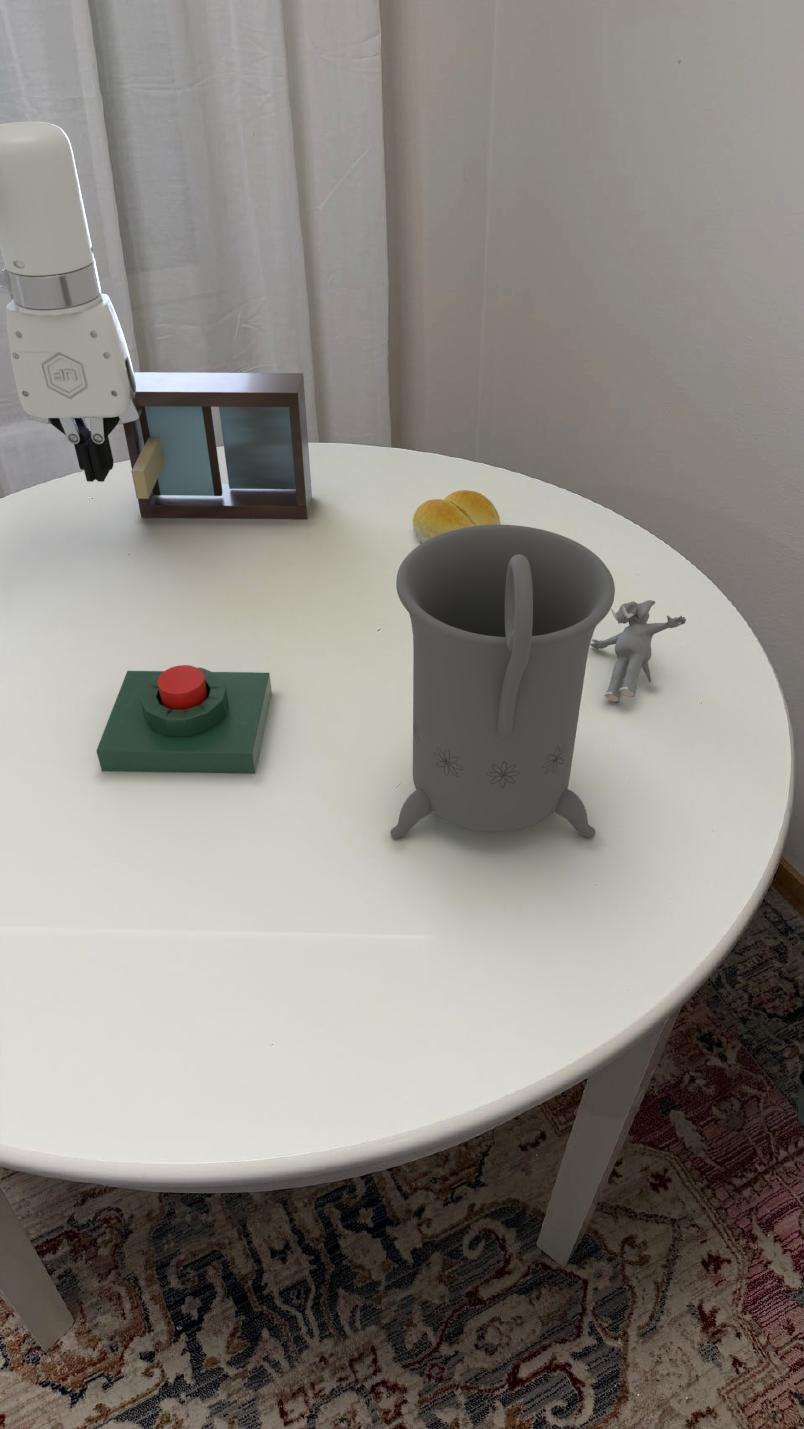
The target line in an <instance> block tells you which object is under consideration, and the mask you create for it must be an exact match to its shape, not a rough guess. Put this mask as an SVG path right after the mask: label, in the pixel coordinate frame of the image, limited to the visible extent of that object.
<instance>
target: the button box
mask: <svg viewBox="0 0 804 1429" xmlns="http://www.w3.org/2000/svg"><path fill="white" fill-rule="evenodd" d="M198 668H199V669H200V670H201V671H202V672H203V674H204V678H205V684H206V690H207V696H206V699H205V700H204V701H203V702H202V703H201V704H200V705H198V706H195V707H192V708H189V709H186V710H172V709H169V708H167V707H166V706H164V705H163V703H162V701H161V697H160V692H159V688H158V678H159V676H160V675H161V674H162V673H163V672H164V671H165V670H127V671H126V673H125V676H124V678H123V681H122V683H121V686H120V688H119V691H118V694H117V697H116V698H115V702H114V704H113V706H112V709H111V712H110V714H109V717H108V720H107V722H106V725H105V727H104V730H103V732H102V735H101V738H100V741H99V742H98V745H97V748H96V752H95V753H96V755H97V759H98V762H99V765H100V769H101V772H119V773H120V772H122V773H124V772H127V773H128V772H129V773H182V774H183V773H185V774H186V773H187V774H189V773H190V774H191V773H192V774H238V775H239V774H241V775H242V774H245V775H247V774H248V775H249V774H250V775H254V774H256V773H257V772H256V771H257V768H258V762H259V757H260V753H261V748H262V742H263V738H264V733H265V729H266V728H265V727H266V724H267V719H268V713H269V708H270V703H271V698H272V693H273V691H272V682H271V674H270V672H257V671H256V672H251V671H250V672H248V671H247V672H246V671H245V672H244V671H211V670H209V669H206V668H203V667H198Z"/></svg>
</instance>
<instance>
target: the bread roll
mask: <svg viewBox="0 0 804 1429" xmlns="http://www.w3.org/2000/svg"><path fill="white" fill-rule="evenodd" d="M479 525H502V524H501V518H500V516H499V512H498V509H497V508H496V507H495V505H494V503H492V501H491V500H490V499H489V498H488V497H487V496H485V495H483V494H481V493H480V492H478V491H474V490H468V489H466V490H465V489H464V490H463V489H462V490H456V491H453V492H451V493H450V494H448V495H447V496H446V497H445V498H444V499H438V498H437V499H436V498H435V499H434V498H433V499H429V500H427V501H424V502H423V503H422V504H420V505H419V506H418V507H417V509H416V510H415V512H414V514H413V518H412V529H413V532H414V535H415V537H416V538H417V540H419V541H420V542H421V543H423V542H425V541H427V540H428V539H430V538H432V537H435V536H437V535H440V534H442V533H445V532H448V531H452V530H456V529H460V528H465V527H471V526H479Z"/></svg>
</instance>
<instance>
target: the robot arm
mask: <svg viewBox="0 0 804 1429" xmlns="http://www.w3.org/2000/svg"><path fill="white" fill-rule="evenodd" d="M79 180H80V179H79V176H78V171H77V166H76V162H75V156H74V151H73V148H72V144H71V140H70V139H69V137H68V135H67V134H66V132H65V131H64V129H62V128H61V127H59V126H58V125H57V124H53V123H51V122H47V121H37V120H35V121H33V120H32V121H31V120H27V121H22V120H21V121H12V122H5V123H0V252H1V256H2V260H3V264H4V268H3V269H2V270H1V271H0V289H4V290H7V291H8V292H9V296H10V299H11V300H12V301H10V302H9V303H7V304H6V306H5V318H6V332H7V339H8V347H9V354H10V361H11V366H12V372H13V377H14V381H15V387H16V391H17V395H18V400H19V402H20V406H21V408H22V409H23V411H24V412H25V413H26V414H27V417H28V419H29V420H30V421H33V422H38V423H42V424H46V425H51V426H52V427H54V428H55V429H56V430H58V431H59V432H61V433H62V434H63V435H64V436H65V437H66V439H67V441H68V443H70V444H71V445H73V446H74V449H75V455H76V458H77V463H78V466H79V470H82V471H83V472H84V475H85V480H86V482H88V483H89V482H90V483H92V482H94V481H97V482H102V483H103V482H105V481H106V478H107V477H108V474H109V473H110V471H111V470H112V469H113V468H114V464H115V462H114V457H113V452H112V448H111V442H110V438H109V435H110V434H111V433H112V432H113V431H114V429H115V428H116V427H117V426H118V425H123V424H124V423H128V422H132V421H136V420H138V418H139V416H140V415H141V412H142V411H141V408H140V405H139V403H138V401H137V399H136V397H135V394H136V382H135V377H134V372H135V371H134V368H133V364H132V361H131V356H130V352H129V349H128V345H127V342H126V339H125V335H124V332H123V329H122V327H121V324H120V321H119V318H118V316H117V313H116V310H115V308H114V305H113V303H112V301H111V299H110V296H109V295H108V294H107V293H102V290H101V285H100V280H99V274H98V270H97V265H96V264H97V263H96V259H95V256H94V250H93V245H92V240H91V236H90V235H91V234H90V231H89V225H88V220H87V216H86V210H85V205H84V200H83V196H82V191H81V185H80V181H79ZM85 419H89V420H90V421H89V424H90V429H89V428H88V425H87V422H86V420H85Z"/></svg>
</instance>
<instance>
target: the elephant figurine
mask: <svg viewBox="0 0 804 1429" xmlns="http://www.w3.org/2000/svg"><path fill="white" fill-rule="evenodd" d="M655 604H656V601H655V600H653V599H652V600H651V599H649V600H644V601H643V602H639V603H638V602H636V601H634V600H633V601H629V602H627V603H626V602H625V603H622V604H621V605H620V606H619V609H618V610H617V611H616V612H615V610H614V609H613V608H611V609H610V612H611V614H612V616H613V618H614V619H615V621H617V624H624V625H626V624H628V625H627V626H626V627H624V629H623V631H621V632H619V633H618V634H616V635H613V636H610V637H609V638H606V639H604V640H598V639H595V638H592V639H591V643H590V647H592V648H593V649H596V650H600V649H601V650H602V649H606V648H607V647H609V646H612V645H614V652H615V656H616V658H617V661H616V663H615V664H614V666H613V671H612V673H611V674H612V675H611V678H610V681H609V683H608V684H609V685H608V687H607V689H606V692H605V693H604V694H603V696H604V698H605V699H606V700H608V701H610V702H613V703H619V702H620V698H621V694H622V695H623V696H625V697H628V698H636V693H637V686H638V677H639V674H640V672H641V668H642V670H643V673H644V674H645V676H646V678H647V681H648V682H649V684H651V683H652V676H651V672H650V666H649V661H650V660H651V657H652V640H653V636H654V635H656V634H658V633H660V632H663V631H664V630H667V629H674V628H678V627H679V626H682V625H684V624H686V622H687V618H685V616H683V615H679V616H678V617H677V616H675V617H673V618H672V617H670V616H669V615H666V619H667V621H666V622H652V623H651V622H650V623H648V621H649V618H650V610H651V609H652V607H653V606H654V605H655Z"/></svg>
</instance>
